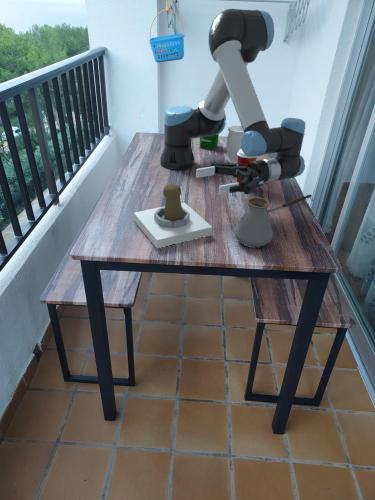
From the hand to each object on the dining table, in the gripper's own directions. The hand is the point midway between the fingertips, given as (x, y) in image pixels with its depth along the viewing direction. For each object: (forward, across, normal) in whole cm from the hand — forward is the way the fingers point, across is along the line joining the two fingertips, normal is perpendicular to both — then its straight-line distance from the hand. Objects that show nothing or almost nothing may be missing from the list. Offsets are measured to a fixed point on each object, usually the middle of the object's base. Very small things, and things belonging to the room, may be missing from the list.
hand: (207, 181), depth 109 cm
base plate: (+12, 0, -14) cm, 18 cm away
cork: (+11, -1, -10) cm, 15 cm away
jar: (-41, +42, -15) cm, 61 cm away
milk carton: (-40, +65, -15) cm, 78 cm away
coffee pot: (-11, -19, -14) cm, 26 cm away
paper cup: (-28, +18, -14) cm, 36 cm away
